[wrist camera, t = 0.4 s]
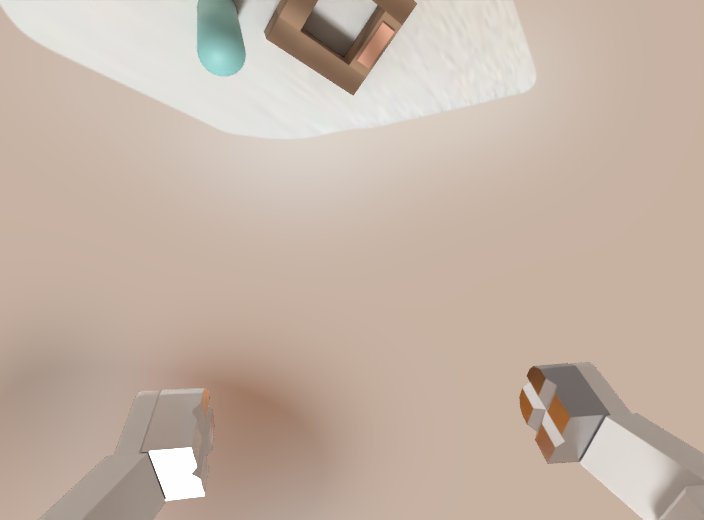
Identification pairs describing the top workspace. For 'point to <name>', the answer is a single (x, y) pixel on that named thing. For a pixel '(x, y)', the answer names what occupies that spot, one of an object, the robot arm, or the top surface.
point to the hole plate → (309, 50)
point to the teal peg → (219, 37)
